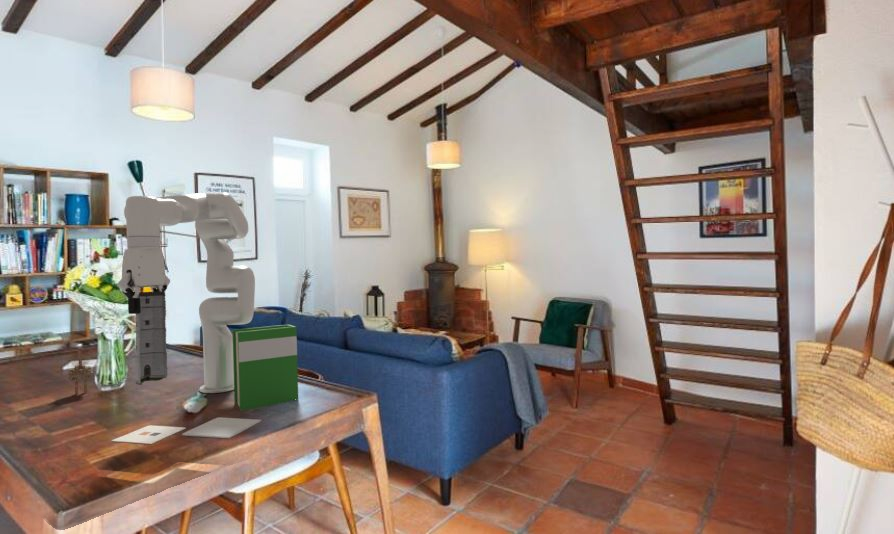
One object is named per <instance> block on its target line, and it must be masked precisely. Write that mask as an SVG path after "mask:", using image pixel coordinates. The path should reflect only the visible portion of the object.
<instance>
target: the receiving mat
mask: <svg viewBox="0 0 894 534" xmlns="http://www.w3.org/2000/svg"><path fill="white" fill-rule="evenodd" d="M261 422H262V419H253V418H252V419H251V418H236V417H234V418H233V417H221V416H220V417H218V416H217V417H216V418H213V419H211V420H209V421H207V422H205V423H203V424H200V425H199V426H196V427H194V428H191V429H189V430H187V431H185V432H183V433H181V436H186V437H187V436H188V437H200V438H201V437H203V438H214V439H215V438H216V439H231V438H233V437H235V436H236V435H239V434H240V433H242V432H244V431H246V430H247V429H249V428H251V427H253V426H255V425H257V424H258V423H261Z"/></svg>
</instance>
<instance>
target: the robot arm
mask: <svg viewBox="0 0 894 534" xmlns="http://www.w3.org/2000/svg"><path fill="white" fill-rule="evenodd" d="M123 215H124V218H125V220H126V221H125V222H126V224H125V225H126V245H127V246H126V248H125V249H124V250H123V251H124V252H123V257H122V263H121V264H122V265H121V279H120V280H119V281H118V282H117V287H118V288H119V289H120V290H121V291H122V293H123V295H124V296H125V298H126V299H127V308H128V309H127V312H128V314H131V315H136V314H140V313H141V305H140V298H137V297H138V295H139V292H141V289H142V288H150V290H151V292H157V291H162V290H161V289H163V288H164V289H165V292H166V290H167V289H168V286H169V284H170V283H171V279H170V278H169V277H168V276H167V275H166V269H165V267H166V266H165V259H164V253H163V249H162V248H161V244H162V241H161V227H172V226H175V225H178V224H187V223H192V222H194V226H195V227H194V228H195V231H196V233H197V235H198V237H199V238H200V240H201V242H202V244H203V245H204V247H205V251H206V255H207V256H206V257H207V259H206V277H205V286H206V289H207V291H208V292H210V293H212V294H237V296H233V297H232V296H230V297H229V296H219V297H218V296H217V297H215V296H214V297H209V298H205V299H204V300H202V301H201V303H199V304H200V305H199V307H198V315H199V320H200V323H201V329H202V331H201V332H202V342H203V343H202V345H203V346H202V349H203V355H202V356H203V377H204V378H203V379H204V380H203V383H204V384H202V385H200V387H199V392H200V393H205V394H217V393H225V392H231V391H234V369H233V334H232V330H230V329H229V327H228V325H229V326H233V325H240V326H241V325H246V324H249V323H251V321H252V320H253V318H254V311H255V296H256V295H255V293H256V278H255V273H254V270H253V269H252V268H251V267H249V266H246V265H234V257H235V256H234V255H235V253H234V251H233V249H232V247H231V246H230V244H228V242H227V241H226V240H240V239H244V238H245V237H246V236H248V235H247V234H248V232H249V224H248V220H247V217H246V215H245V214H244V212H243V210H242V209H241V207H240V205H239V204H238V203H237V201H236V199H235V198H234V197H233V196H232V195H230V194H229V193H227V192H198V193H190V194H189V193H187V194H185V193H184V194H175V195H167V196H160V197H158V196H157V197H154V196H149V195H148V196H147V195H131V196H128V197H127V198H126V200H125V206H124V209H123ZM160 298H161V297H160ZM160 307H161V306H160Z"/></svg>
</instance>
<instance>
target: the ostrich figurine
mask: <svg viewBox="0 0 894 534" xmlns="http://www.w3.org/2000/svg"><path fill="white" fill-rule="evenodd" d="M77 348H78V349H77V351H78V352H77V353H78V356H77V357H78V358H77V359H78V364H75V365H74V367H72V368H69V369H68V372H67V380H71V381H74V395H75V396H77V395H79V381H80V380H82V381H83V394H88V379H90V378H91V377H93V375H94V371H93V370H92V367H91V366H89V365H88V366H87V365H85V364H84V363H83V358H82V357H83V356H82V355H83V354H82V351H83V347H82V345H79V346H78V347H77Z"/></svg>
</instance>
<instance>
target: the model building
mask: <svg viewBox="0 0 894 534" xmlns="http://www.w3.org/2000/svg"><path fill="white" fill-rule="evenodd" d="M161 290H162V291H157V292H152V291H140V292H139V295H138V297H137V298H140V305H141V313H140V314H135V317H134V318H135V320H134V321H135V332H134V333H135V345H134V346H135V355H134V359H135V364H134V365H135V377H134V383H135V384H136V385H138V386H139V385H140V386H141V385H142V384H143V383H144V382H150V381H155V382H157V381H161V380H163V379H166V378H168V374H169V373H168V355H167V354H168V353H167V327H166V326H167V325H166V321H167V319H166V316H167V310H166V308H167V304H166V302H167V300H166V291H165V289H164V288H163V289H161ZM160 297H161V298H160ZM160 306H161V307H160Z"/></svg>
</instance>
